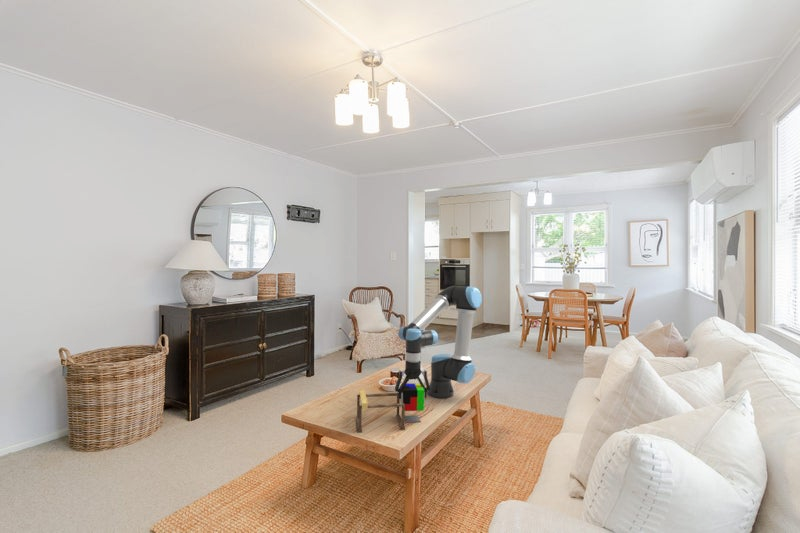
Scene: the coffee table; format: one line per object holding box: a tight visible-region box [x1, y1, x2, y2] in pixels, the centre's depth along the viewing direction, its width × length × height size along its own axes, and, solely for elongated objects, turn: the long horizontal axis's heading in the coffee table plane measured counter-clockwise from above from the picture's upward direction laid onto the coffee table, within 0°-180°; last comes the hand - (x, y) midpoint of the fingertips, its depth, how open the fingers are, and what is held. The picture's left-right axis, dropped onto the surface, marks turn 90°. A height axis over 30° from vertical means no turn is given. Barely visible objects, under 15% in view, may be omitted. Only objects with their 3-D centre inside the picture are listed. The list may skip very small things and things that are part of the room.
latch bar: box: [359, 389, 369, 411], centre depth 183 cm, size 2×17×3 cm, turn 10°
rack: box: [355, 392, 406, 433], centre depth 184 cm, size 22×15×12 cm
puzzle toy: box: [402, 383, 425, 412], centre depth 190 cm, size 10×10×10 cm
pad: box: [404, 414, 422, 424], centre depth 190 cm, size 7×7×1 cm
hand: (412, 404), depth 190 cm, fingers closed on puzzle toy, 10 cm apart
